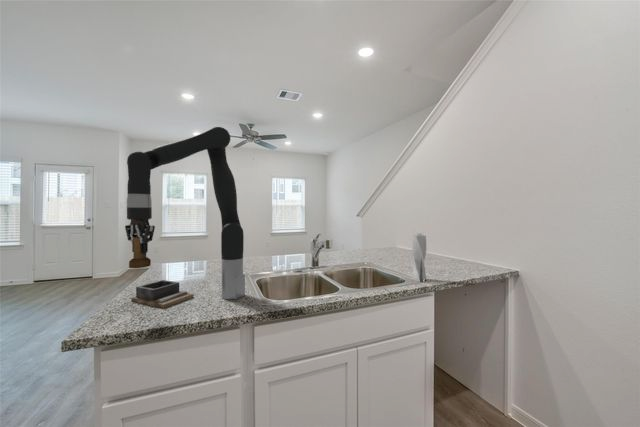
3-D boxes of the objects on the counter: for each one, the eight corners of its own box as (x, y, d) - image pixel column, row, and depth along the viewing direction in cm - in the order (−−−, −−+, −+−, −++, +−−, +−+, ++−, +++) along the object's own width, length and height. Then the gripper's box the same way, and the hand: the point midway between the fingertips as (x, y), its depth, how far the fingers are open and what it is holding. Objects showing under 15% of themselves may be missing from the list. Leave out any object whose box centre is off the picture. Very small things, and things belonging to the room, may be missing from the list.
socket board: (193, 297, 112) (193, 283, 112) (163, 308, 99) (163, 293, 99) (162, 291, 120) (162, 279, 120) (131, 301, 107) (131, 287, 107)
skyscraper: (408, 279, 144) (408, 230, 144) (416, 277, 149) (416, 230, 148) (421, 282, 137) (422, 231, 137) (429, 280, 142) (430, 230, 142)
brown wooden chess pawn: (139, 268, 90) (138, 218, 90) (124, 268, 92) (123, 218, 91) (154, 264, 97) (154, 218, 97) (140, 264, 98) (140, 218, 98)
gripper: (162, 206, 95) (162, 252, 95) (137, 206, 100) (138, 250, 100) (141, 206, 88) (141, 255, 88) (116, 206, 93) (117, 252, 93)
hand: (139, 252), depth 94 cm, fingers closed on brown wooden chess pawn, 4 cm apart
